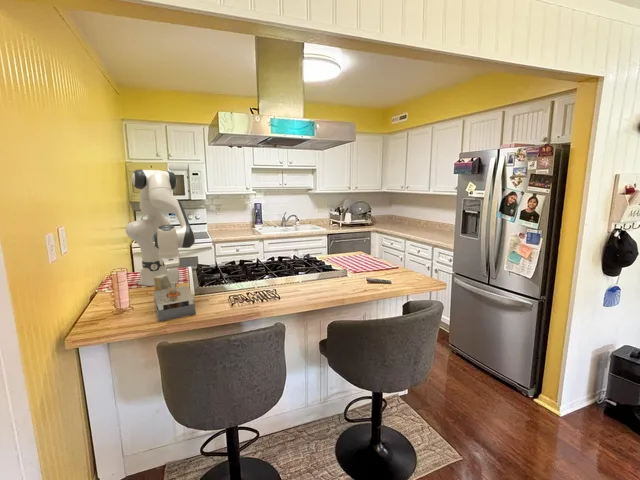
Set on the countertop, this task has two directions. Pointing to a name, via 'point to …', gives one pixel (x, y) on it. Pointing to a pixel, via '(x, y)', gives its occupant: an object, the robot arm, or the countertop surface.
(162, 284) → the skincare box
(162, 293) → the breaker housing
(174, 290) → the grey block
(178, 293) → the breaker button
